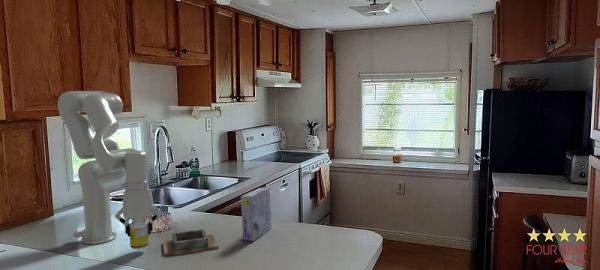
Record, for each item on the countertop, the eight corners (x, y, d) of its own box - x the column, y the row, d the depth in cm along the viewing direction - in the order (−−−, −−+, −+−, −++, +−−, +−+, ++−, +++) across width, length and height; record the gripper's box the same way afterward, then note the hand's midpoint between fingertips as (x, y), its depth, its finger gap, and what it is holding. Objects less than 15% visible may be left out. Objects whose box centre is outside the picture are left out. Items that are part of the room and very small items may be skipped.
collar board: (164, 256, 151) (163, 245, 151) (162, 243, 164) (162, 233, 164) (218, 248, 157) (218, 237, 157) (212, 236, 171) (212, 227, 170)
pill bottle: (133, 243, 158) (132, 212, 157) (151, 243, 159) (150, 212, 158) (127, 250, 152) (126, 218, 151) (146, 249, 152) (145, 217, 151)
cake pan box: (262, 226, 183) (260, 185, 181) (273, 227, 181) (271, 186, 179) (241, 241, 165) (239, 196, 163) (253, 242, 163) (251, 197, 161)
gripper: (110, 190, 146) (112, 240, 148) (163, 186, 152) (164, 234, 154) (111, 185, 153) (113, 233, 155) (162, 181, 159) (164, 228, 161)
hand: (139, 233), depth 155 cm, fingers closed on pill bottle, 6 cm apart
